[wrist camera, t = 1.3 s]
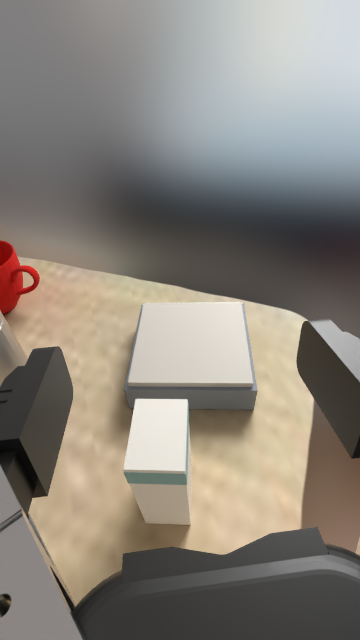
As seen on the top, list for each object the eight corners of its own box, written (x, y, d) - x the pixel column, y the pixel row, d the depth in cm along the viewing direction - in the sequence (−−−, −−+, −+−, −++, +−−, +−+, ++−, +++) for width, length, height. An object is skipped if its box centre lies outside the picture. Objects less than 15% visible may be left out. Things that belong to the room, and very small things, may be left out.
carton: (145, 523, 32) (122, 470, 23) (151, 462, 37) (135, 398, 28) (191, 525, 32) (185, 471, 23) (192, 463, 36) (188, 398, 28)
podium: (129, 408, 42) (123, 385, 39) (145, 324, 54) (140, 300, 50) (253, 410, 41) (258, 386, 37) (241, 323, 53) (244, 299, 49)
